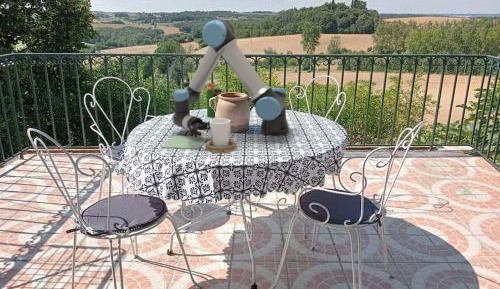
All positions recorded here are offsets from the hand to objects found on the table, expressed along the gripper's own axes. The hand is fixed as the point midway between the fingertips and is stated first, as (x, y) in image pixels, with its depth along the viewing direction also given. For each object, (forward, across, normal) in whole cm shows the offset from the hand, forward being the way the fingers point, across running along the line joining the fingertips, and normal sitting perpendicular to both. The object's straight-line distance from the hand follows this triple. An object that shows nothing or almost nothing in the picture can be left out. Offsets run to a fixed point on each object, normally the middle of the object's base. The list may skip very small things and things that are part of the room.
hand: (218, 132), depth 180 cm
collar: (+1, 0, -7) cm, 7 cm away
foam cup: (+1, 0, -8) cm, 8 cm away
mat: (-17, +7, -7) cm, 20 cm away
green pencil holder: (-52, -35, -8) cm, 63 cm away
